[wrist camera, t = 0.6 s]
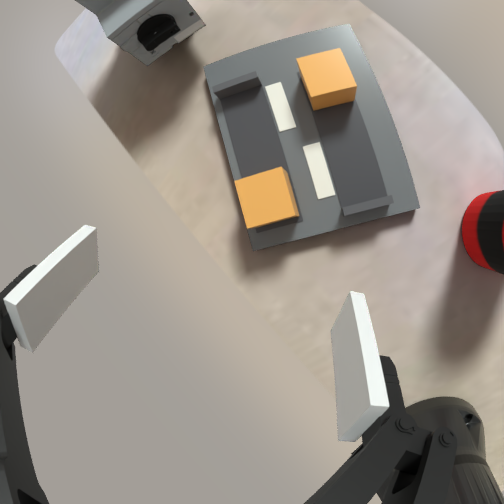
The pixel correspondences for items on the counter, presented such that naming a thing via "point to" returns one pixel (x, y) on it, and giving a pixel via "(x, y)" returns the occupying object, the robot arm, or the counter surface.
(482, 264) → the soda can
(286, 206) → the tab
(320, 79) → the tab
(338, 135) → the switch board
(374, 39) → the counter surface
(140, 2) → the circuit breaker
